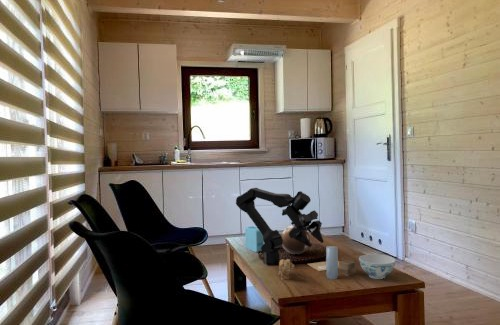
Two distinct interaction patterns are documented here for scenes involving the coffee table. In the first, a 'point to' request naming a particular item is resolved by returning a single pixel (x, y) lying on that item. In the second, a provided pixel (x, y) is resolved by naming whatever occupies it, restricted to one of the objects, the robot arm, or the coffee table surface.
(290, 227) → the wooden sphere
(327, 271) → the grey cylinder
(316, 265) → the envelope
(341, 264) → the walnut block
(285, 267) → the lion figurine
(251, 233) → the data package
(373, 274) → the chinaware
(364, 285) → the coffee table surface
